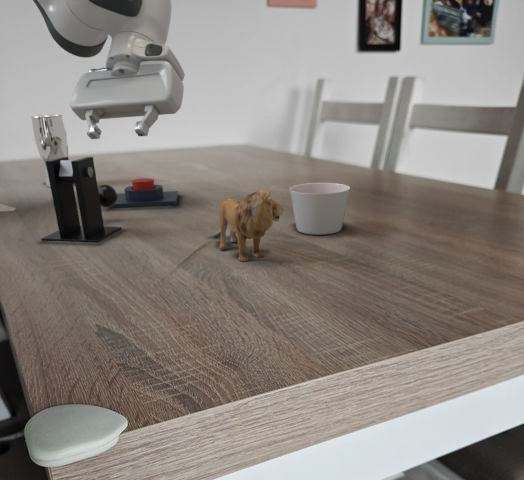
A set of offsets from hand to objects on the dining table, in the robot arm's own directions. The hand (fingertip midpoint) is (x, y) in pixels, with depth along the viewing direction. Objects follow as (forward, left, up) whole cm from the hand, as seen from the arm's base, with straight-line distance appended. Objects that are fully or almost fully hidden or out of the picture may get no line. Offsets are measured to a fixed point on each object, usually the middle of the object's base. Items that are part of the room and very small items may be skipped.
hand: (116, 135), depth 92 cm
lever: (-3, -12, -7) cm, 15 cm away
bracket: (-4, -16, -13) cm, 21 cm away
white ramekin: (+32, -17, -14) cm, 38 cm away
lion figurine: (+20, -27, -14) cm, 36 cm away
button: (+3, +7, -10) cm, 13 cm away
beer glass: (-20, +36, -14) cm, 44 cm away
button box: (+3, +7, -13) cm, 15 cm away
